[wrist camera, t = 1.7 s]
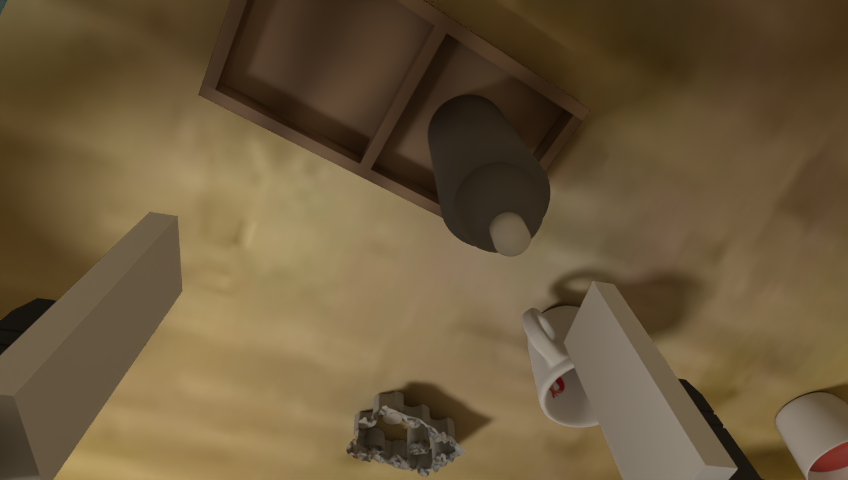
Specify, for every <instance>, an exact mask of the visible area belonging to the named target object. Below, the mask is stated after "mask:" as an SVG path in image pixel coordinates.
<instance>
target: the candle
mask: <svg viewBox="0 0 848 480" xmlns="http://www.w3.org/2000/svg"><path fill="white" fill-rule="evenodd" d="M775 424H776V427H777V430H778V431H779V433H780V435H781V437H782V439H783V440H784V442H785V444H786V446H787V447H788V449H789V451H790V453H791V454H792V456H793V458H794V460H795V461H796V463H797V465H798V466H799V468H800V470H801V472H802V473H803V475H804V477H805V479H806V480H848V404H847V403H846V402H844V401H843V400H842V399H840V398H838V397H837V396H835V395H833V394H831V393H826V392H816V393H810V394H806V395H803V396H801V397H798V398H796V399H794V400H793V401H791V402H789V403H788V404H787V405H785V406H784V407H783V408H782V409H781V410H780V412H779V413H778V415H777V417H776V420H775Z"/></svg>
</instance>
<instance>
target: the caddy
mask: <svg viewBox="0 0 848 480" xmlns="http://www.w3.org/2000/svg"><path fill="white" fill-rule="evenodd" d="M468 94H470V95H478V96H481V97H484V98H486V99H488V100H490V101H491V102H493V103H494V104H495V105H496V106H497V107H498V109H499V110H500V111H501V113H502V114H503V115H504V117H505V118H506V119H507V121H508V122H509V123H510V125H511V126H512V127H513V129H514V130H515V131H516V133H517V134H518V136H519V137H520V138H521V140H522V141H523V142H524V144H525V145H526V146H527V148H528V149H529V150H530V152H531V153H532V154H533V156H534V157H535V158H536V160H537V161H538V162H539V164H540V165H541V167H542V168H543V169H544V171H546V170H547V168H548V167H549V166H550V164H551V163H552V162H553V160H554V159H555V158H556V156H557V155H558V154H559V152H560V151H561V150H562V148H563V147H564V146H565V144H566V143H567V142H568V140H569V139H570V138H571V136H572V135H573V134H574V132H575V131H576V130H577V128H578V127H579V126H580V124H581V123H582V122H583V120H584V119H585V117H586V116H587V115H588V113H589V112H590V111H591V110H589V109H588V108H587V107H585V106H584V105H582V104H581V103H580V102H578V101H577V100H575V99H574V98H572V97H571V96H569V95H568V94H566V93H565V92H563V91H562V90H560V89H559V88H557V87H555V86H554V85H552V84H551V83H549V82H548V81H546V80H545V79H543V78H542V77H540V76H539V75H537V74H536V73H534V72H533V71H531V70H530V69H528V68H527V67H525V66H524V65H522V64H520V63H519V62H517V61H516V60H514V59H513V58H511V57H510V56H508V55H507V54H505V53H504V52H502V51H501V50H499V49H498V48H496V47H495V46H493V45H492V44H490V43H489V42H487V41H485V40H484V39H482V38H481V37H479V36H478V35H476V34H475V33H473V32H472V31H470V30H469V29H467V28H466V27H464V26H463V25H461V24H460V23H458V22H457V21H455V20H454V19H452V18H450V17H449V16H447V15H446V14H444V13H443V12H441V11H440V10H438V9H437V8H435V7H434V6H432V5H431V4H429V3H428V2H426V1H425V0H231V1H230V4H229V7H228V10H227V13H226V16H225V19H224V21H223V24H222V27H221V30H220V33H219V36H218V39H217V42H216V45H215V48H214V51H213V54H212V56H211V59H210V62H209V65H208V68H207V71H206V74H205V77H204V80H203V83H202V86H201V89H200V91H199V94H198V95H200V96H202V97H204V98H206V99H208V100H210V101H212V102H214V103H216V104H218V105H220V106H222V107H224V108H226V109H228V110H230V111H232V112H234V113H235V114H237V115H239V116H241V117H243V118H245V119H247V120H249V121H251V122H253V123H255V124H257V125H259V126H261V127H263V128H265V129H267V130H269V131H271V132H273V133H275V134H277V135H279V136H281V137H283V138H285V139H287V140H289V141H291V142H293V143H295V144H297V145H299V146H301V147H303V148H305V149H307V150H309V151H311V152H313V153H315V154H317V155H319V156H321V157H323V158H325V159H327V160H329V161H331V162H333V163H335V164H337V165H339V166H341V167H343V168H345V169H347V170H349V171H351V172H353V173H355V174H357V175H359V176H361V177H363V178H364V179H366V180H368V181H370V182H372V183H374V184H376V185H378V186H380V187H382V188H384V189H386V190H388V191H390V192H392V193H394V194H396V195H398V196H400V197H402V198H404V199H406V200H408V201H410V202H412V203H414V204H416V205H418V206H420V207H422V208H424V209H426V210H428V211H430V212H432V213H434V214H436V215H438V216H440V217H442V214H441V208H440V203H439V198H438V192H437V187H436V182H435V176H434V171H433V165H432V160H431V155H430V149H429V144H428V127H429V123H430V121H431V118H432V116H433V115H434V113H435V112H436V110H437V109H438V108H439V107H440V106H441V105H442V104H443V103H445V102H446V101H448V100H450V99H452V98H454V97H457V96H460V95H468ZM442 218H443V217H442Z"/></svg>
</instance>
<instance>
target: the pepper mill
mask: <svg viewBox="0 0 848 480" xmlns="http://www.w3.org/2000/svg"><path fill="white" fill-rule="evenodd" d="M428 144H429V149H430V155H431V160H432V165H433V171H434V176H435V182H436V187H437V192H438V198H439V203H440V208H441V214H442V217H443V220H444V222H445V224H446V226H447V227H448V229H449V230H450V231H451V232H452V233H453V234H454V235H455V236H456V237H457V238H458V239H460V240H461V241H463V242H465V243H467V244H469V245H472V246H476V247H477V248H480V249H482V250H485V251H488V252H494V253H500V254H502V255H504V256H516V255H519V254H521V253H522V252H524V251H525V250H526V249H527V248H528V246H529V244H530V241H531V239H532V238H533V237H534V235H535V234H536V233H537V231H538V229H539V227H540V225H541V223H542V220H543V217H544V216H545V214H546V211H547V209H548V206H549V201H550V185H549V180H548V178H547V175H546V173H545V171H544V169H543V168H542V167H541V165H540V164H539V162H538V161H537V160H536V158H535V157H534V156H533V154H532V153H531V152H530V150H529V149H528V148H527V146H526V145H525V144H524V142H523V141H522V140H521V138H520V137H519V136H518V134H517V133H516V131H515V130H514V129H513V127H512V126H511V125H510V123H509V122H508V121H507V119H506V118H505V117H504V115H503V114H502V113H501V111H500V110H499V109H498V107H497V106H496V105H495V104H494V103H493V102H491V101H490V100H488V99H486V98H484V97H481V96H478V95H470V94H468V95H460V96H457V97H454V98H452V99H450V100H448V101H446V102H445V103H443V104H442V105H441V106H440V107H439V108H438V109H437V110H436V112H435V113H434V115H433V116H432V118H431V121H430V123H429V127H428Z"/></svg>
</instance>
